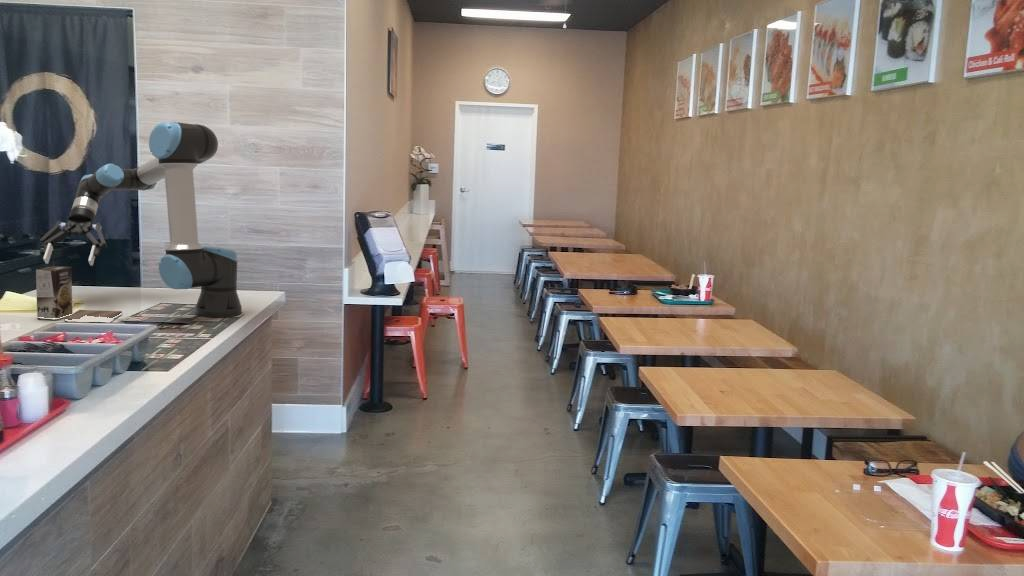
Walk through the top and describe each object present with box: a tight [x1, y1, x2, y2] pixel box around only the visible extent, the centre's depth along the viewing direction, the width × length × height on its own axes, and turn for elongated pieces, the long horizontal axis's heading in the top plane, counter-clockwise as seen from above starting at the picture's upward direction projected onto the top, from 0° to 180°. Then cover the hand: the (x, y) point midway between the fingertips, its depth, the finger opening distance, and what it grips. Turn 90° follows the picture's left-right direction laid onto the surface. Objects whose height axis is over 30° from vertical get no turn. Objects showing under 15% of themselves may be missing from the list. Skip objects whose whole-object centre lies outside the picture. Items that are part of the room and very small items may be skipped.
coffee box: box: [35, 265, 73, 318], centre depth 242 cm, size 9×6×16 cm
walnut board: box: [64, 309, 123, 320], centre depth 245 cm, size 13×13×1 cm
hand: (68, 262), depth 251 cm, fingers open, 13 cm apart
